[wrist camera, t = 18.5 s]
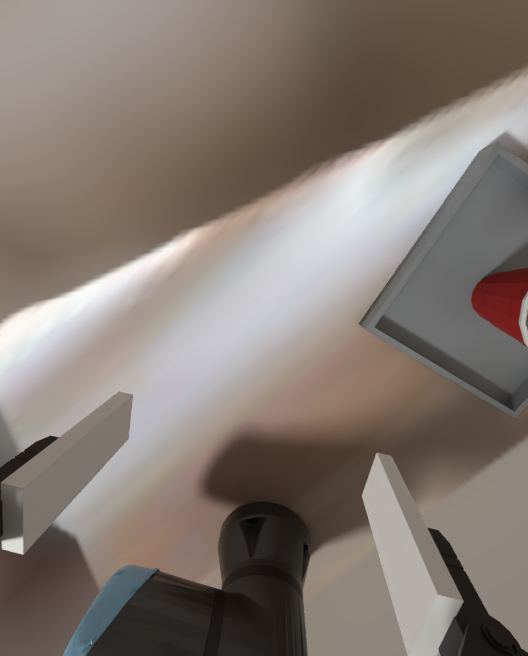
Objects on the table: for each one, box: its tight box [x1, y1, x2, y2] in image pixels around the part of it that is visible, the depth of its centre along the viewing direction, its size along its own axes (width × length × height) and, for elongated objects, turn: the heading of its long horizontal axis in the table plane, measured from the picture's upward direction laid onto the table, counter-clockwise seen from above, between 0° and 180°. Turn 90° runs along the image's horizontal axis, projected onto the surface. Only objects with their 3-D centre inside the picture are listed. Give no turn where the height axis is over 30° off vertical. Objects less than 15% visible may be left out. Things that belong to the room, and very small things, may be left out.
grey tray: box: [359, 143, 528, 419], centre depth 37 cm, size 24×24×3 cm
